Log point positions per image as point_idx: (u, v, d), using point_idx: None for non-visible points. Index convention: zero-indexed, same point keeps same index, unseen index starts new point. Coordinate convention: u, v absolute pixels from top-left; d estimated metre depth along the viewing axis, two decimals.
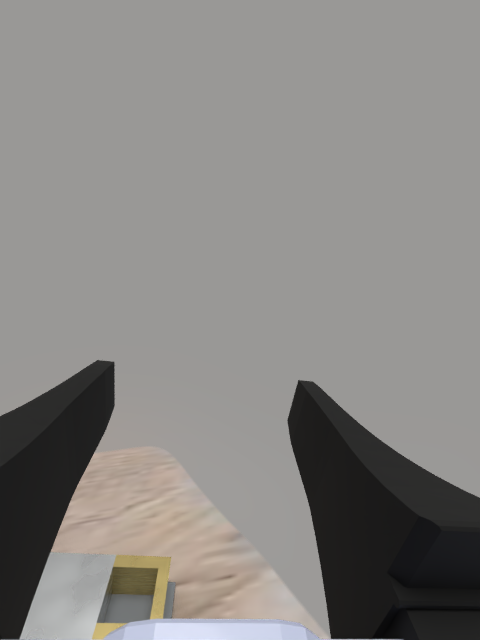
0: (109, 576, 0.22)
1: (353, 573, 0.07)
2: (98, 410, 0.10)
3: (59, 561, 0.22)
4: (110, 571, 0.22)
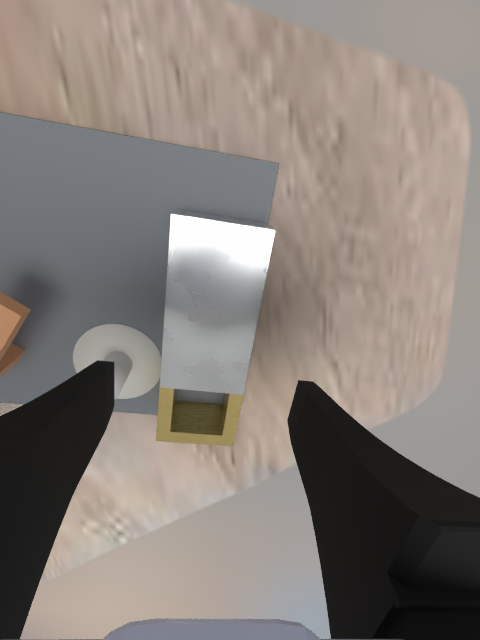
0: (219, 391, 0.18)
1: (353, 573, 0.07)
2: (98, 410, 0.10)
3: (243, 336, 0.16)
4: (224, 392, 0.18)
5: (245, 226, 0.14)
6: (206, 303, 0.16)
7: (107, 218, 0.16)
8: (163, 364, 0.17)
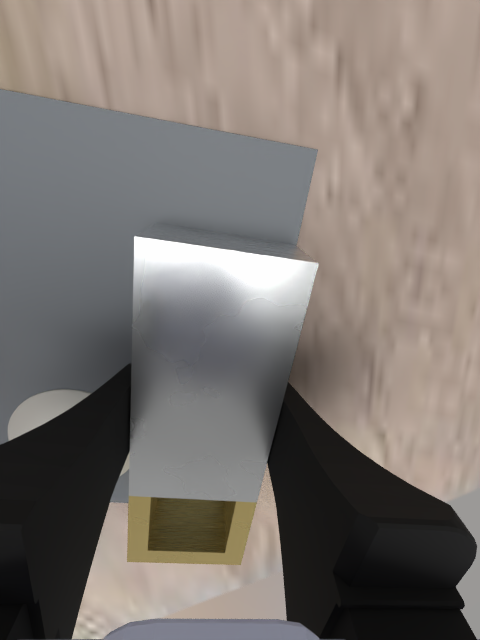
0: (220, 498, 0.12)
1: (307, 572, 0.07)
2: None
3: (259, 425, 0.10)
4: (228, 499, 0.12)
5: (266, 257, 0.08)
6: (199, 379, 0.09)
7: (43, 236, 0.10)
8: (133, 465, 0.11)
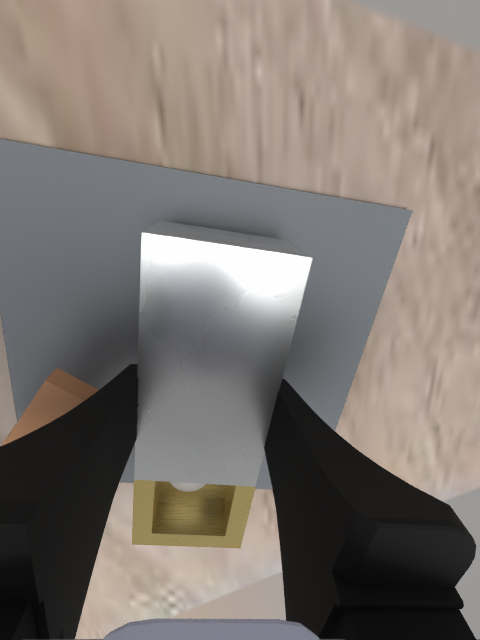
0: (221, 482, 0.12)
1: (306, 572, 0.07)
2: (135, 413, 0.10)
3: (257, 412, 0.11)
4: (228, 483, 0.12)
5: (264, 252, 0.09)
6: (201, 367, 0.10)
7: None
8: (138, 450, 0.11)
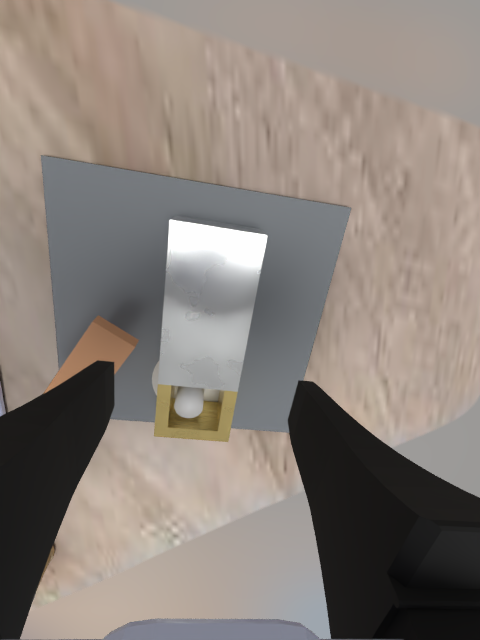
0: (215, 388, 0.19)
1: (353, 573, 0.07)
2: (98, 410, 0.10)
3: (238, 335, 0.17)
4: (219, 388, 0.19)
5: (239, 231, 0.15)
6: (202, 303, 0.17)
7: None
8: (161, 362, 0.18)
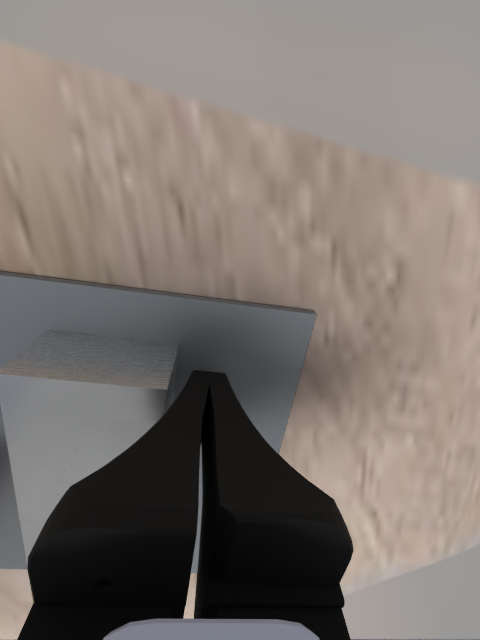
0: None
1: (203, 569, 0.07)
2: (204, 419, 0.11)
3: None
4: None
5: (118, 386, 0.09)
6: (76, 479, 0.10)
7: None
8: (28, 549, 0.12)
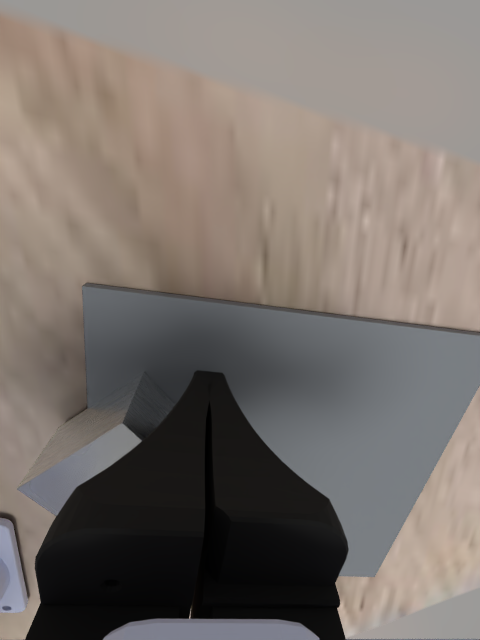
0: None
1: (199, 569, 0.07)
2: None
3: None
4: None
5: (90, 444, 0.10)
6: None
7: (286, 398, 0.14)
8: None
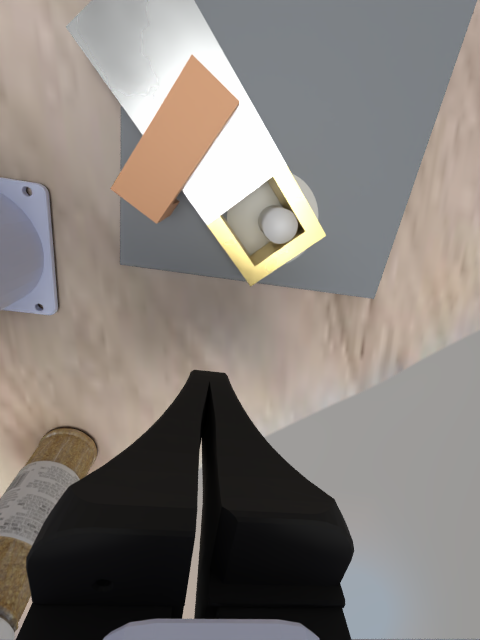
0: (262, 182, 0.15)
1: (203, 569, 0.07)
2: (203, 419, 0.11)
3: None
4: (266, 178, 0.15)
5: None
6: None
7: (296, 31, 0.15)
8: (190, 197, 0.15)
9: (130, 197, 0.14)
